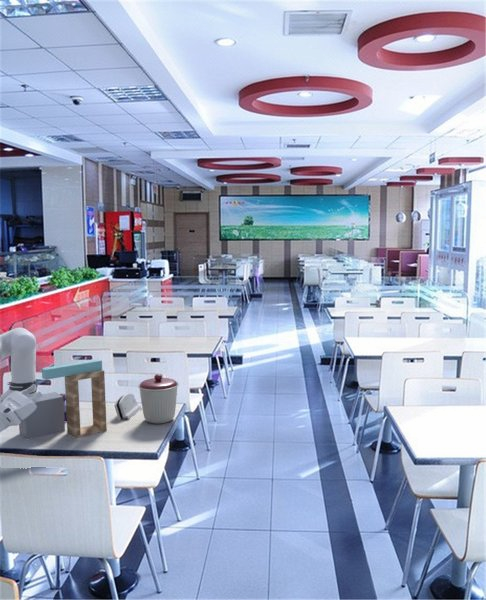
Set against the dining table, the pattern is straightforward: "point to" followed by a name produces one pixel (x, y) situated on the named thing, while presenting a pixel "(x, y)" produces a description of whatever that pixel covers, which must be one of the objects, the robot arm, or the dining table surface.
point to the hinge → (126, 406)
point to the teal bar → (71, 369)
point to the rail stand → (97, 404)
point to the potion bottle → (64, 406)
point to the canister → (158, 399)
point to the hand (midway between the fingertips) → (36, 390)
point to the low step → (44, 417)
